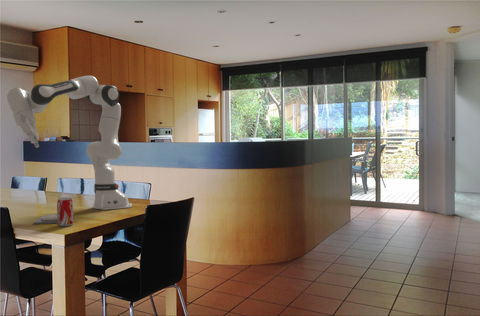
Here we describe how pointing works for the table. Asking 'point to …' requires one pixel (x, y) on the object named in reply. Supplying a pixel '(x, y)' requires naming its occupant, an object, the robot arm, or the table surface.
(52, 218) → the slate can stand
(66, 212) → the soda can
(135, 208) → the table surface
